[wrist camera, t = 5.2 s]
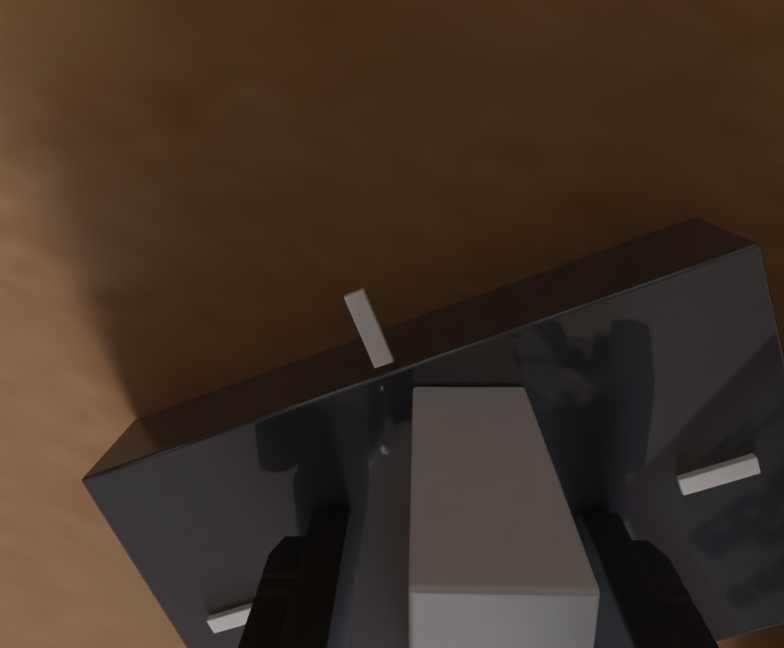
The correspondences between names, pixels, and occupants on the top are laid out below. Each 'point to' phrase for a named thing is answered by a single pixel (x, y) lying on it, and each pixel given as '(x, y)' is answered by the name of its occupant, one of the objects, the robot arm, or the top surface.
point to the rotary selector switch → (486, 369)
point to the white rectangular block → (491, 529)
